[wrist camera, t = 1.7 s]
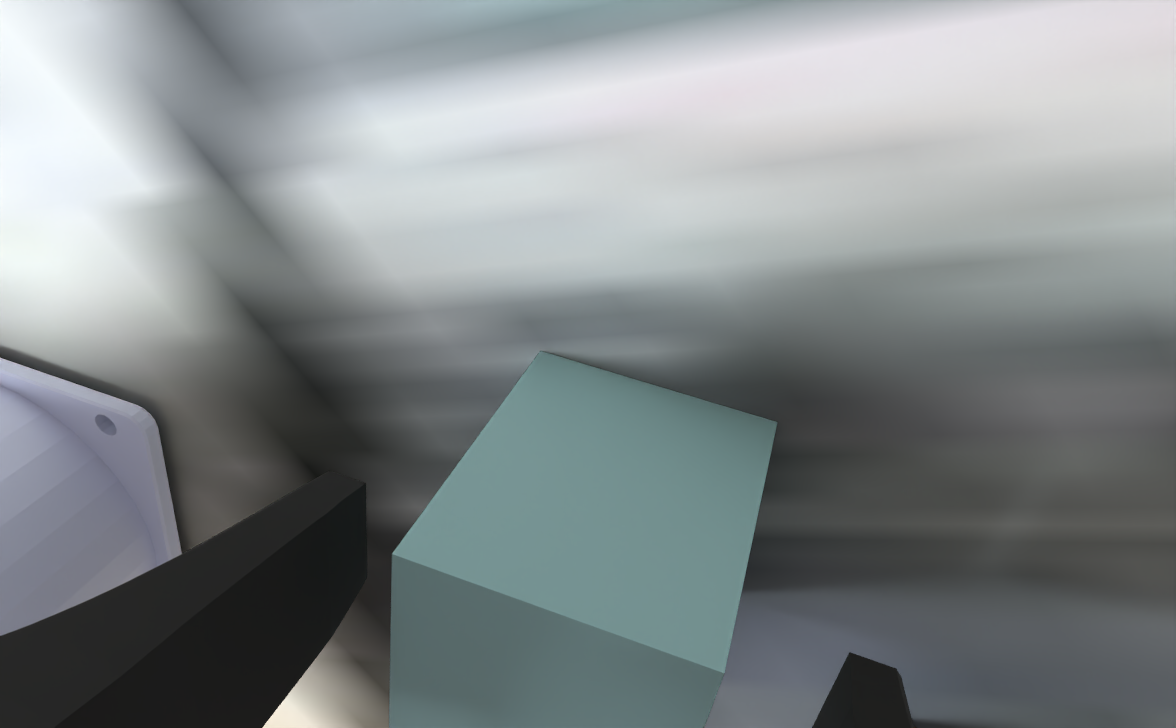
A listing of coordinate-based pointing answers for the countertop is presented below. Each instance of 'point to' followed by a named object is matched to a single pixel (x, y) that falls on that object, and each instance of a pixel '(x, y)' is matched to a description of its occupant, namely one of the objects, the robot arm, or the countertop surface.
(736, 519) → the teal block
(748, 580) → the countertop surface
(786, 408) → the countertop surface
